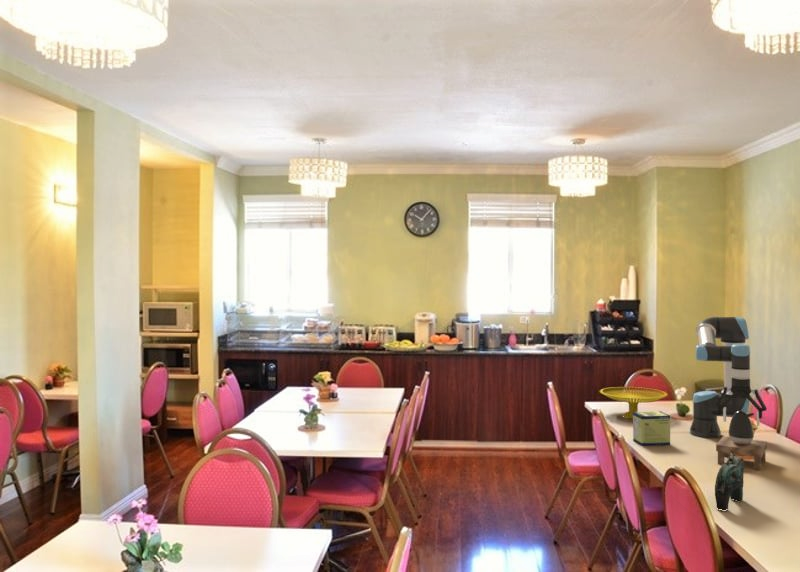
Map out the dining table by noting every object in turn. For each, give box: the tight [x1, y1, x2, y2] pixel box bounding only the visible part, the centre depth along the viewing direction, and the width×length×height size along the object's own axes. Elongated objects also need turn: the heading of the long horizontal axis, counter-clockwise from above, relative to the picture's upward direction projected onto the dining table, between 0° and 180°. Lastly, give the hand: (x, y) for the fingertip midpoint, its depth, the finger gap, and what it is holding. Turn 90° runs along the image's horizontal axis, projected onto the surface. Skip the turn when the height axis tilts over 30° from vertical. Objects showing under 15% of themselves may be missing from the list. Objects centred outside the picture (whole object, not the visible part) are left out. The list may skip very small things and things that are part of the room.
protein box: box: [632, 410, 671, 447], centre depth 310 cm, size 10×16×16 cm
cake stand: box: [598, 386, 669, 419], centre depth 370 cm, size 40×40×15 cm
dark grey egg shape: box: [728, 411, 755, 445], centre depth 274 cm, size 10×10×15 cm
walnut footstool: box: [715, 435, 768, 472], centre depth 275 cm, size 18×18×9 cm
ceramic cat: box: [714, 451, 745, 510], centre depth 224 cm, size 20×6×20 cm, turn 131°
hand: (741, 423), depth 275 cm, fingers open, 13 cm apart
